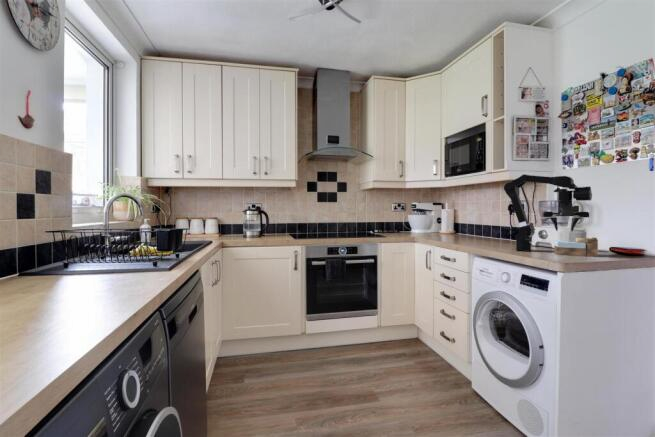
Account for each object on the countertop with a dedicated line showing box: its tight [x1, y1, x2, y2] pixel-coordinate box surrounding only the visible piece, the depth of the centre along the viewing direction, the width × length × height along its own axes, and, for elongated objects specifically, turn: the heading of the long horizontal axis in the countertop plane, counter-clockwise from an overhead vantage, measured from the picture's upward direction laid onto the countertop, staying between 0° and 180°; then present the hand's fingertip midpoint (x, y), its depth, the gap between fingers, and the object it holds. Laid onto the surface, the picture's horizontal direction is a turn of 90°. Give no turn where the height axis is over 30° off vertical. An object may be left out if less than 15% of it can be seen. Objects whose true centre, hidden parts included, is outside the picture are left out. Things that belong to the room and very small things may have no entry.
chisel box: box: [554, 239, 599, 258], centre depth 158 cm, size 16×6×8 cm, turn 63°
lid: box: [554, 240, 586, 248], centre depth 159 cm, size 11×7×2 cm, turn 63°
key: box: [576, 237, 597, 243], centre depth 156 cm, size 8×3×2 cm, turn 63°
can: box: [568, 228, 587, 243], centre depth 173 cm, size 8×8×12 cm
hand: (564, 231), depth 160 cm, fingers open, 6 cm apart
